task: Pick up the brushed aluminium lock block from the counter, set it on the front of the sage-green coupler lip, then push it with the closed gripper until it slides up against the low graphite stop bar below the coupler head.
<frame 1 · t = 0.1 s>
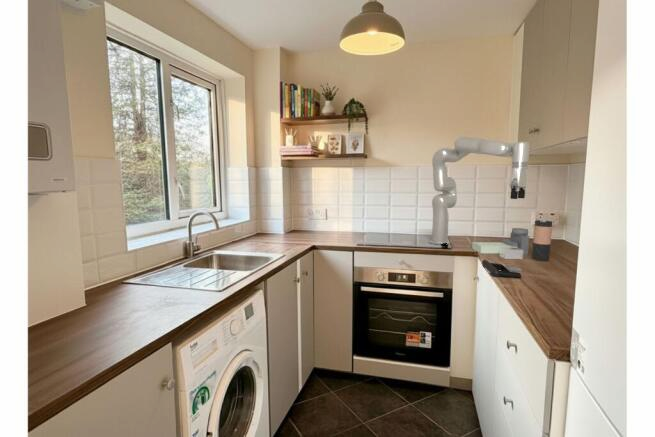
hand: (517, 198, 177), 31 cm above the countertop, tool pointing down, fingers open, 9 cm apart
travel mug: (540, 259, 173), on the countertop
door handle: (503, 273, 149), on the countertop
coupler: (493, 251, 192), on the countertop
lock block: (510, 257, 177), on the countertop
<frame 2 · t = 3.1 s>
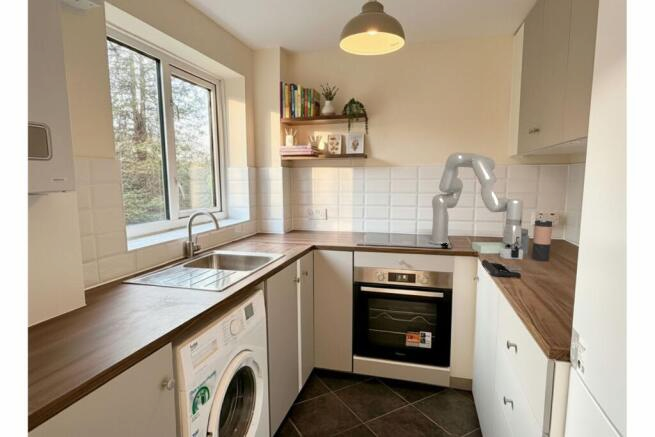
hand: (511, 255, 177), 1 cm above the countertop, tool pointing down, fingers closed on lock block, 6 cm apart
lock block: (511, 257, 177), on the countertop, touching gripper
everything else where it was.
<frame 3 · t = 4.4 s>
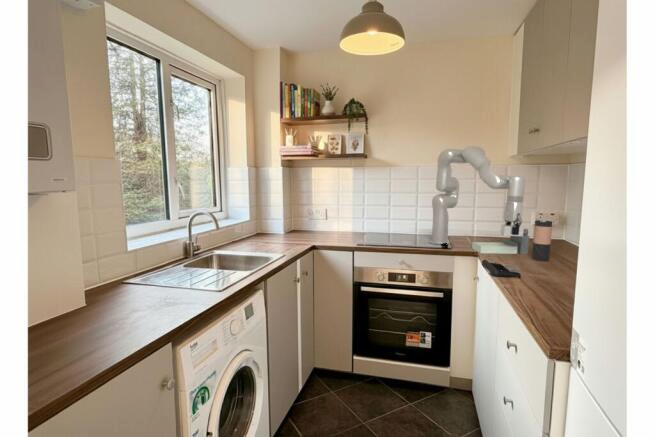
hand: (511, 233, 176), 13 cm above the countertop, tool pointing down, fingers closed on lock block, 6 cm apart
lock block: (511, 234, 176), point 12 cm above the countertop, touching gripper
everything else where it was.
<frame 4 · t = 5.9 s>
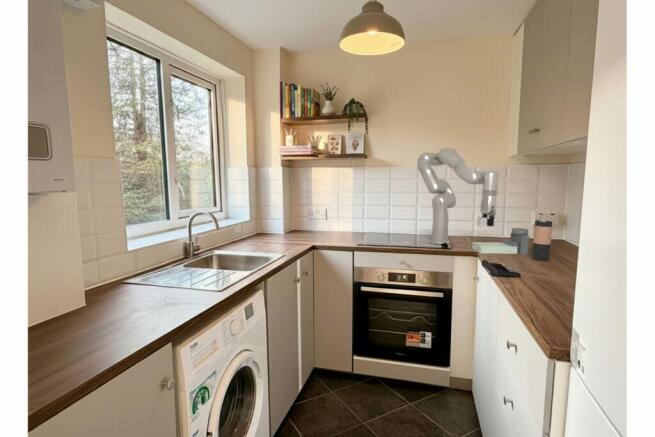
hand: (487, 224, 190), 15 cm above the countertop, tool pointing down, fingers closed on lock block, 6 cm apart
lock block: (487, 226, 191), point 14 cm above the countertop, touching gripper
everything else where it was.
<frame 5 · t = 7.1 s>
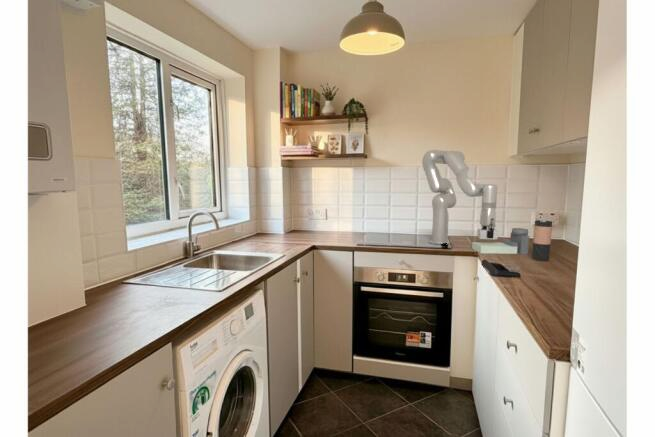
hand: (487, 236, 191), 8 cm above the countertop, tool pointing down, fingers closed on lock block, 6 cm apart
lock block: (487, 238, 191), point 8 cm above the countertop, touching gripper
everything else where it was.
when the fingers open (6 cm above the countertop, at t = 8.1 s): lock block drops 1 cm, point 4 cm above the countertop.
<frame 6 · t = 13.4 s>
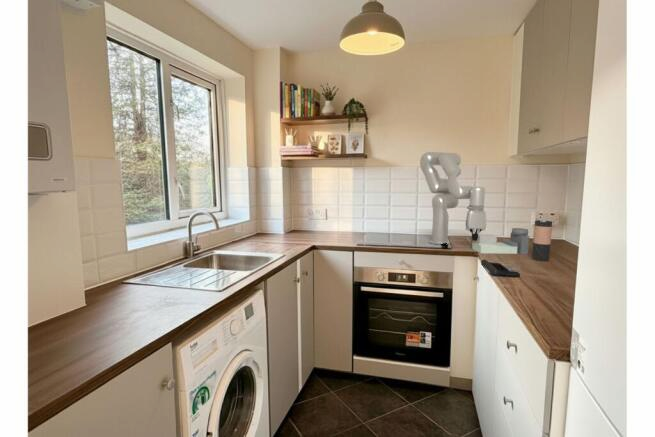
hand: (474, 240, 191), 6 cm above the countertop, tool pointing down, fingers closed
lock block: (486, 244, 192), point 4 cm above the countertop, touching gripper
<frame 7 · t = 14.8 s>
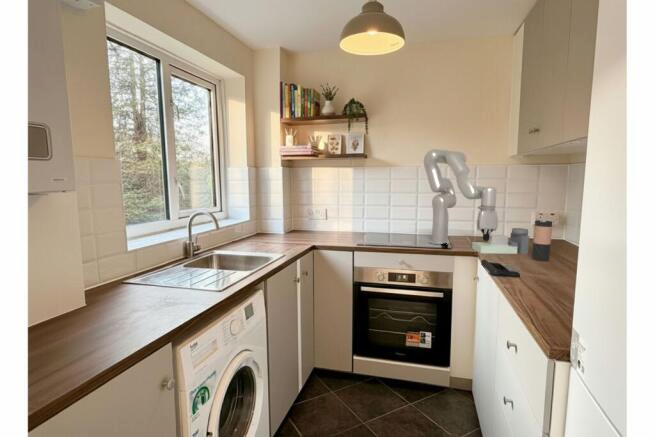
hand: (485, 240, 191), 6 cm above the countertop, tool pointing down, fingers closed
lock block: (497, 244, 192), point 4 cm above the countertop, touching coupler, gripper
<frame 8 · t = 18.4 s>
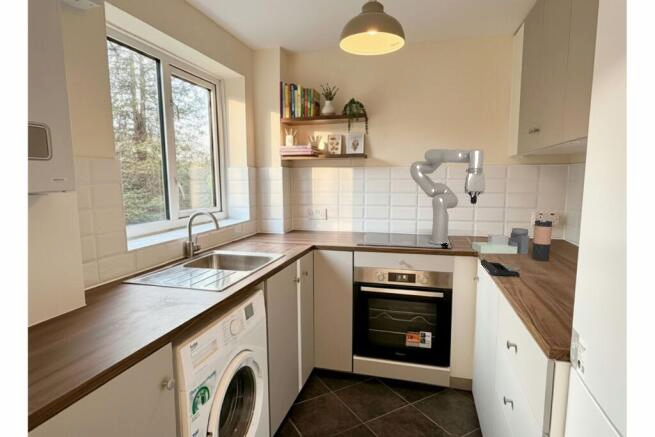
hand: (473, 203, 192), 27 cm above the countertop, tool pointing down, fingers closed
lock block: (497, 244, 192), point 4 cm above the countertop, touching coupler
at the end: lock block 0.1 cm from the target spot on the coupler, point 4.0 cm above the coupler's base; lock block tilted 0°; the gripper is holding nothing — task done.
